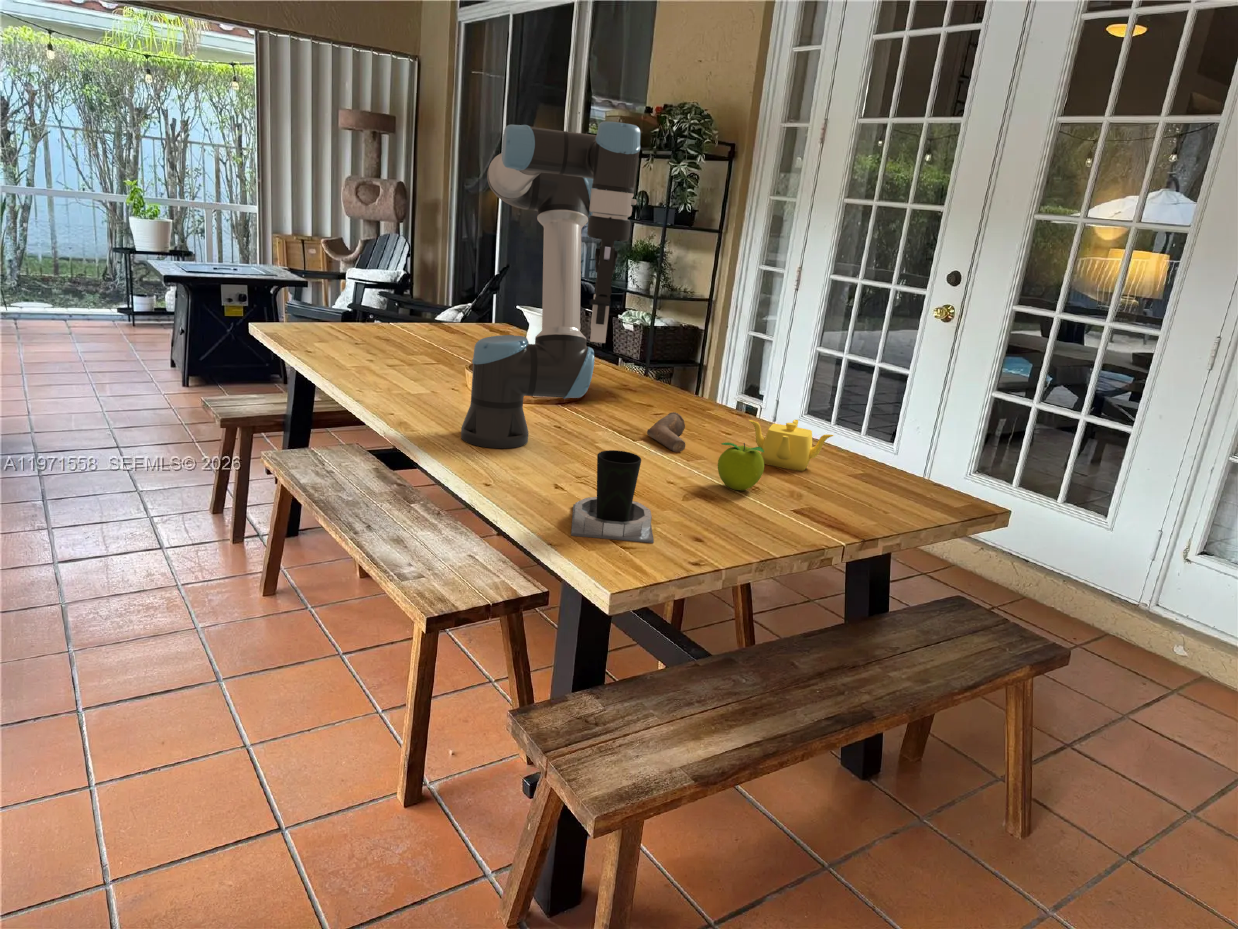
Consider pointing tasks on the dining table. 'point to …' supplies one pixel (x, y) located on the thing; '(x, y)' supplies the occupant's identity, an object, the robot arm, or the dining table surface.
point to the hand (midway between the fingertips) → (597, 335)
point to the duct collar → (611, 523)
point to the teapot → (788, 445)
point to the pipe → (669, 432)
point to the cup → (616, 484)
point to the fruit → (740, 466)
